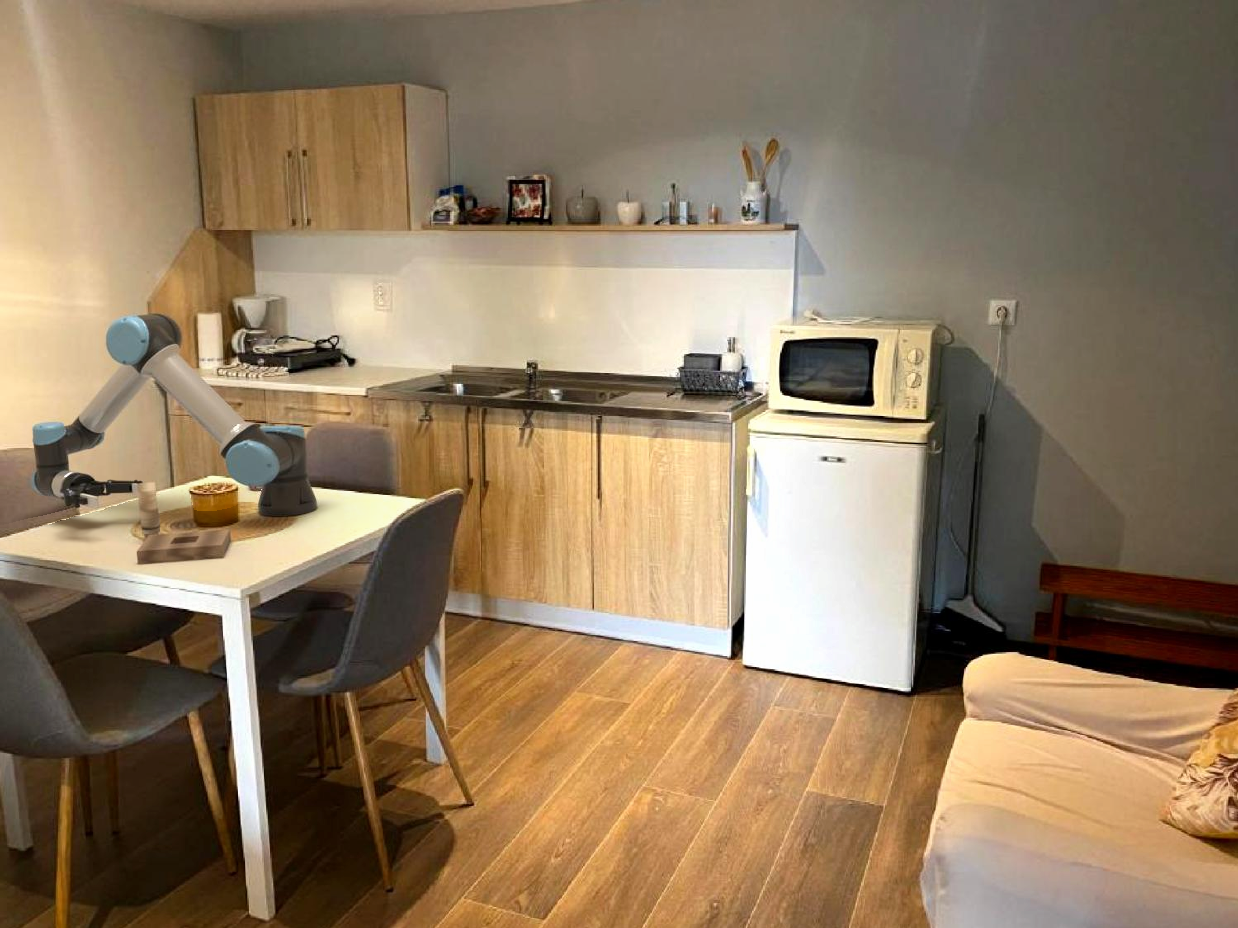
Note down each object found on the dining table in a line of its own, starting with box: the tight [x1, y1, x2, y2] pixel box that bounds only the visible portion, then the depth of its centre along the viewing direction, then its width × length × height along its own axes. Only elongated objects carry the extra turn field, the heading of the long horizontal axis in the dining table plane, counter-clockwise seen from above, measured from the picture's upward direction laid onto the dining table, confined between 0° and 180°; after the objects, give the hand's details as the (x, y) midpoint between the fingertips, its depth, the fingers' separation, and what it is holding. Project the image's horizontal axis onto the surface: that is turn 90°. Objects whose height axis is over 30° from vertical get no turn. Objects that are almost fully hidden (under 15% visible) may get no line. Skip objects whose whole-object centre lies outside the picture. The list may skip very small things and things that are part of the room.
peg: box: [137, 481, 161, 541], centre depth 250 cm, size 4×4×14 cm
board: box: [136, 529, 232, 565], centre depth 240 cm, size 18×14×3 cm
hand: (123, 497), depth 255 cm, fingers open, 13 cm apart
